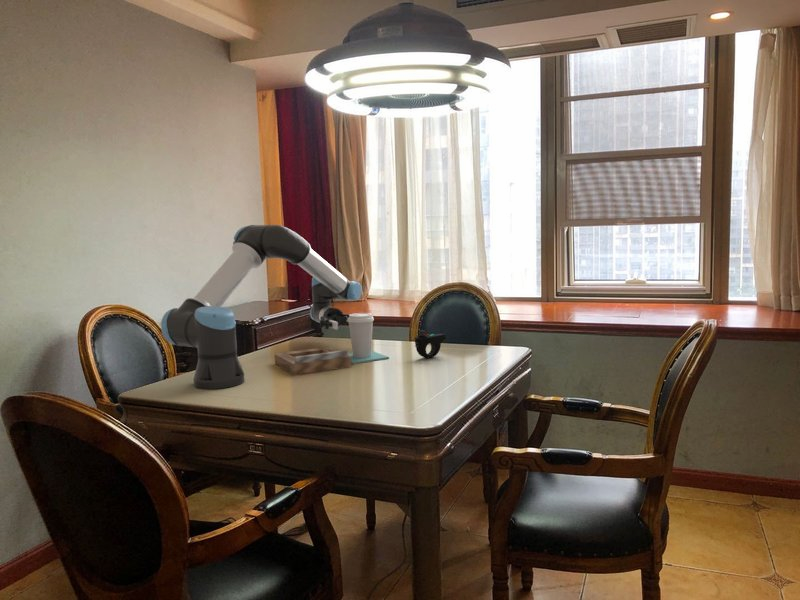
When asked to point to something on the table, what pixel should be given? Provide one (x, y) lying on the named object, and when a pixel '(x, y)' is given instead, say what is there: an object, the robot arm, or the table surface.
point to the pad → (368, 358)
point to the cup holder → (313, 360)
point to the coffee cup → (361, 334)
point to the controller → (424, 340)
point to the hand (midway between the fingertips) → (354, 323)
